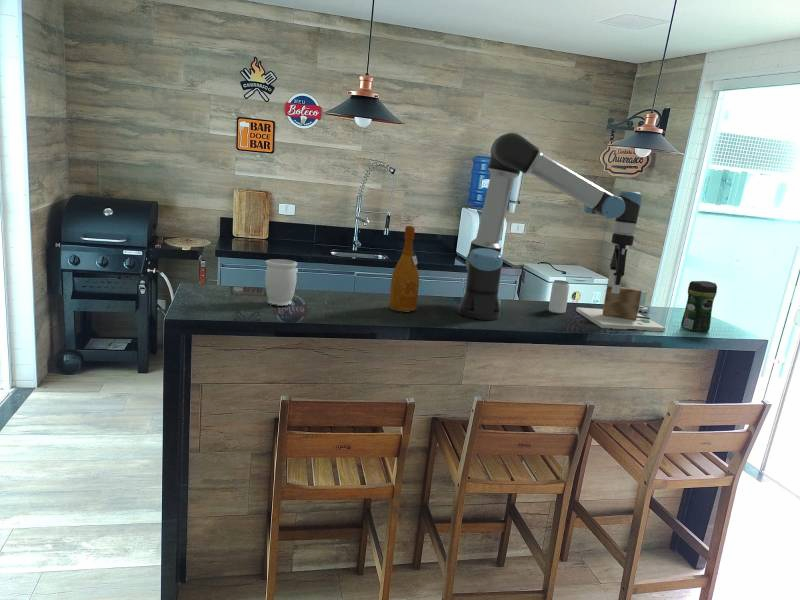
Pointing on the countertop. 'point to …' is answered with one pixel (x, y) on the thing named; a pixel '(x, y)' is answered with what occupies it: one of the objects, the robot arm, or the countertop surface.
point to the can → (559, 296)
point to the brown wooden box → (622, 303)
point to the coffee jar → (699, 306)
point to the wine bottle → (405, 277)
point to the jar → (280, 281)
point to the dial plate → (618, 320)
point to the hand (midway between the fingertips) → (612, 289)
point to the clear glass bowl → (642, 302)
